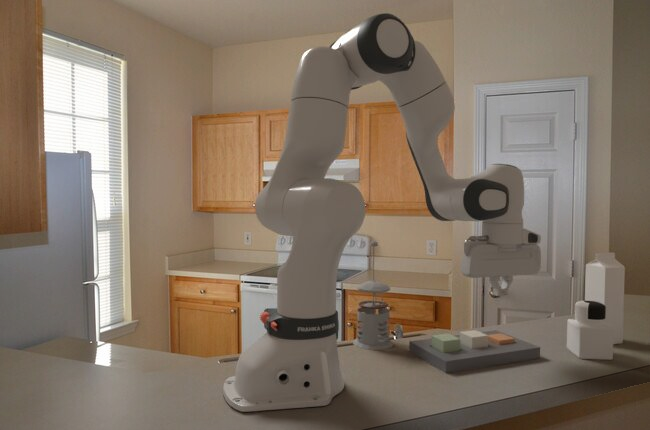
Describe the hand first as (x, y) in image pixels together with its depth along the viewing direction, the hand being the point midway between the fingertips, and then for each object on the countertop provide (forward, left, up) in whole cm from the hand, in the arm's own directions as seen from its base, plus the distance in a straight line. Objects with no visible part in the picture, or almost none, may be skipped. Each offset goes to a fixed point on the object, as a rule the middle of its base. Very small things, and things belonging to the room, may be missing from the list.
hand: (500, 295), depth 109 cm
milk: (+30, -3, -13) cm, 33 cm away
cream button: (-7, 0, -11) cm, 13 cm away
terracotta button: (0, 0, -12) cm, 12 cm away
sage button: (-15, 0, -11) cm, 18 cm away
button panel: (-7, 0, -13) cm, 15 cm away
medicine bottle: (+18, -9, -13) cm, 24 cm away
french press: (-24, +16, -13) cm, 32 cm away
